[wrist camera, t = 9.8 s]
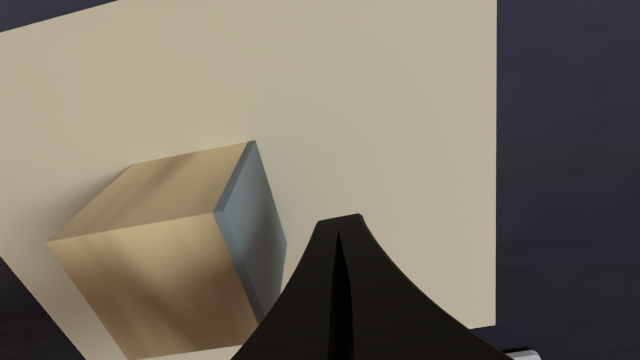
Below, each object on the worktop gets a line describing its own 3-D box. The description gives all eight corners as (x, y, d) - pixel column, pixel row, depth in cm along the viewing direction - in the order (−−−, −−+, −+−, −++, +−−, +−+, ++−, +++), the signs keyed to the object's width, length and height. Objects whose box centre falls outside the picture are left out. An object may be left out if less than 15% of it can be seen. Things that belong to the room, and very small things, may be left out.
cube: (274, 340, 11) (128, 360, 12) (287, 243, 16) (181, 260, 16) (223, 210, 9) (45, 242, 9) (255, 140, 13) (133, 163, 14)
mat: (490, 315, 19) (495, 324, 18) (112, 374, 21) (106, 384, 20) (487, -99, 10) (497, -104, 10) (-131, 71, 13) (-151, 74, 12)
